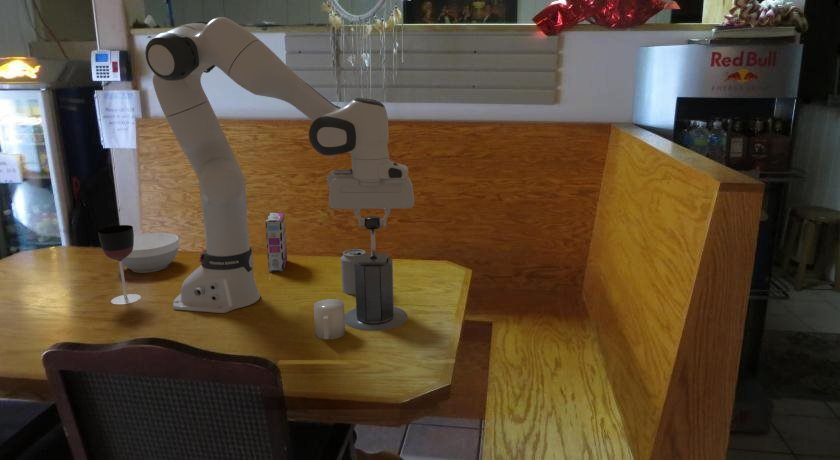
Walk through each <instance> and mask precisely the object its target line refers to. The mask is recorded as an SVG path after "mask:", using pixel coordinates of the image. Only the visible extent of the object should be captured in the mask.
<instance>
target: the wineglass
mask: <svg viewBox="0 0 840 460" xmlns="http://www.w3.org/2000/svg"><path fill="white" fill-rule="evenodd" d="M97 233H98V238H99V242H100V246H101V249H102V252H103V253H104V255H105V256H106V257H107V258H108V259H111V260H116V261H118V265H119V271H120V272H119V273H120V279H121V286H122V291H123V294H122V295H119V296H115V297H114V298H112V299H111V300H110V303H111V304H114V305H127V304H132V303H135V302H138V301H139V300H141V298H142V296H141V295H140V294H135V293H127V292H128V291H127V287H126V280H125V272H124V265H123V264H122V260H123V259H124V258H126V257H127V256H128V255H130V253H131V252H132V250H133V244H134V235H135V234H134V227H133V225H131V224H130V225H129V224H119V225H118V224H117V225H111V226H107V227H103V228H100V229H99V230H98V231H97Z"/></svg>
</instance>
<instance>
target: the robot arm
mask: <svg viewBox="0 0 840 460" xmlns="http://www.w3.org/2000/svg"><path fill="white" fill-rule="evenodd" d="M144 53H145V60H146V64H147V66H148V67H149V69H150V70H151V71H152V73H153V76H152V84H153V89H154V91H155V95H156V98H157V101H158V102H159V106H160V108H161V111H162V113H163V115H164V117H165V118H166V120H167V123H168V125H169V126H170V129H171V130H172V132H173V134H174V136H175V139H176V141H177V142H178V145H179V147H180V148H181V149H182V151H183V153H184V155H185V157H186V158H187V160H188V162H189V164H190V165H191V167H192V169H193V171H194V173H195V174H196V177H197V179H198V180H197V181H198V187H199V193H200V194H199V195H200V204H201V210H202V211H201V213H202V221H203V229H204V237H205V249H203V251H202V253H201V254H200V255H199V257H198V262H199V263H200V264H201V265H199V266H198V267H197V268H196V269H194V270H193V271H192V272H191V273H190V274H189V275H188V276H187V277H186V278H185V279H184V280H183V282H182V285H181V290H180V293H179V294H178V295H177V296H176V297H175V299H174V300H173V303H172V307H173V309H174V310H176V311H179V310H180V311H192V312H201V313H202V312H206V313H215V314H216V313H218V314H219V313H220V314H225V313H229V312H230V311H233V310H237V309H240V308H243V307H244V308H245V307H247V306H250V305H253V304H255V303H256V302H257V301H259V300H260V298H261V294H260V292H259V290H258V289H259V288H258V286H257V283H256V280H255V275H254V270H253V268H254V256H253V252H252V247H251V246H250V236H249V235H250V234H249V223H248V205H247V190H246V189H247V186H246V178H245V176H244V173H243V171H242V168H241V166H240V164H239V162H238V160H237V158H236V156H235V154H234V152H233V149H232V147H231V145H230V143H229V140H228V139H227V136H226V134H225V132H224V130H223V128H222V126H221V123H220V122H219V119H218V118H217V115H216V113H215V111H214V108H213V107H212V105H211V103H210V101H209V99H208V97H207V94H206V92H205V91H204V88H203V86H202V83H201V79H202V78H201V77H202V75H203V73H205V74H208V73H210V72H211V71H212V70H213V69H214V68H215V67H216V68H218V69H219V70H220V71H222V73H224V74H225V75H226V76H228V78H230V80H232V81H233V82H234V83H235V84H236V85H238V86H240V87H241V88H243V89H244V90H246V91H248V92H250V93H251V94H253V95H256V96H260V97H267V98H273V99H276V100H277V99H278V100H281V101H283V102H286V103H288V104H290V105H291V106H293V107H295V109H297V110H299V112H301V113H302V114H303V115H304V116H306V117H307V118H309V120H310V121H312V123H311V125H310V126H309V130H308V139H309V143H310V144H311V146H312V148H313V149H314V150H315V151H316V152H317V153H318V154H321V155H323V156H329V157H334V156H338V155H341V154H346V153H349V154H350V155H351V169H349V168H347V169H336V168H335V169H333V170H332V171H330V172H328V174H327V176H326V184H327V186H328V188H329V193H328V206H329V208H331V210H353V214H354V216H355V217H356V219H357V221H358V227H359V228H365V217H364V218H363V217H362V216H361V214H360V212H361V210H365V209H366V210H367V209H368V210H369V209H371V210H373V209H375V210H376V209H377V210H379V209H381V210H383V213H384V216H383V217H380V228H381V227H382V228H385V227H387V219H388V218H389V215H390V214H391V209H393V210H394V209H398V210H399V209H412V208H413V207H414V205H415V194H414V187H413V182H412V180H411V178H410V176H408V175H409V167H408V166H407V165H405V164H403V163H399V162H396V161H393V160H390V153H389V150H388V145H389V144H388V142H389V139H390V134H389V133H390V131H389V119H388V113H387V109H386V107H385V105H384V104H383V103H382V102H380V101H379V100H376V99H373V98H372V99H371V98H366V97H365V98H362V97H356V98H354V99H352V100H351V101H350V102H349V103H347V104H345V105H343V106H342V107H340V106H338V105H336V104H333V103H332V102H331V101H329V99H328V98H326V97H324V96H323V95H322V94H320V93H319V92H318V91H317V90H316V89H314V88H313V87H312V86H310V84H308V83H307V82H305V80H303V79H302V78H301V77H299V76H298V74H296V72H294V71H293V70H292V69H291V68H290V67H289V66H288V65H287V64H286V63H284V61H282V60H281V59H280V57H279V56H278V55H277V54H276V53H275V52H274V51H273V50H271V48H269V47H268V45H267V44H265V43H264V42H263V41H262V40H261V39H260V38H258V37H257V36H256V35H255V34H253V33H252V32H250V31H249V30H248V29H246V28H245V27H244V26H242V25H240V24H238V23H237V22H235V21H233V20H232V19H230V18H228V17H225V16H219V17H215V18H213V19H211V20H210V21H202V20H200V21H196V22H193V23H192V22H191V23H186V24H182V25H178V26H176V27H175V28H172V29H170V30H167V31H166V32H161V33H158V34H157V35H155V36H154V37H152V38H151V39H150V40H149V41H148V43H147V45H146V46H145V51H144Z"/></svg>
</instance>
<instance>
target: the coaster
mask: <svg viewBox="0 0 840 460" xmlns="http://www.w3.org/2000/svg"><path fill="white" fill-rule="evenodd" d="M344 317H345V326H348V327H350V328H351V329H355V330H360V331H366V332H367V331H368V332H375V331H376V332H379V331H386V330H390V329H394V328H398V327H400V326H401V325H403V324H404V323H405V322H406V321H407V319H408V314H407V312H406V311H404V310H403V309H401V308H400V307H398V306H394V318H393V319H392V320H391V321H390V322H387V323H384V324H379V325H369V324H364V323H361V322H359V321H358V320H357V312H356V307H355V308H353V309H351V310H349V311H347V312H345V313H344Z"/></svg>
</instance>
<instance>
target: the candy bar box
mask: <svg viewBox="0 0 840 460" xmlns="http://www.w3.org/2000/svg"><path fill="white" fill-rule="evenodd" d="M285 214H286V213H285V212H270V213H269V214H268V216H267V218H266V219H265V234H266V235H265V236H266V249H267V262H268V263H267V264H268V267H267V268H268V272H270V273H277V272H278V273H281V272H284V271H285V269H286V265H287V262H288V251H287V250H288V248H287V233H286V217H285Z"/></svg>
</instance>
